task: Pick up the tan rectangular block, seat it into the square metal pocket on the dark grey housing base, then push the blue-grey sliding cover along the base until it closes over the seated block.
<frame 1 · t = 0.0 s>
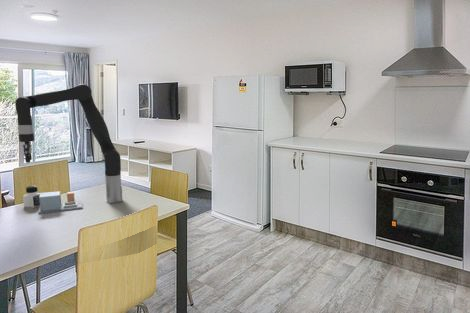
hand: (28, 161, 202), 29 cm above the table, fingers open, 8 cm apart
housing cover: (50, 200, 209), point 5 cm above the table, slide at 0.0 cm
medicine bottle: (33, 205, 217), on the table
housing base: (62, 208, 212), on the table
tan rectangular block: (71, 201, 225), on the table
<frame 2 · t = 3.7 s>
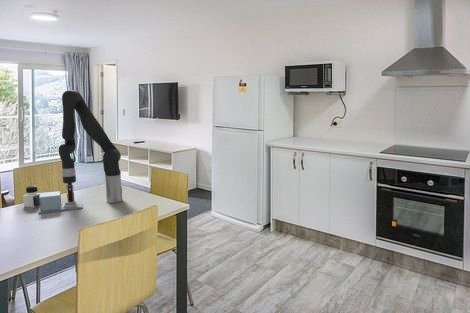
hand: (71, 201, 225), 0 cm above the table, fingers closed on tan rectangular block, 4 cm apart
tan rectangular block: (71, 201, 225), on the table, touching gripper
everything else where it was.
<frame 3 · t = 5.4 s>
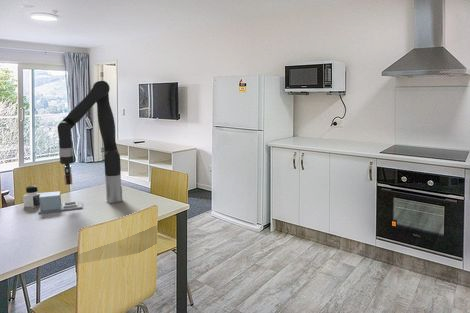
hand: (68, 183, 214), 14 cm above the table, fingers closed on tan rectangular block, 4 cm apart
tan rectangular block: (68, 183, 214), point 14 cm above the table, touching gripper
everything else where it was.
when the fingers open (3 cm above the table, at t = 7.3 s): tan rectangular block drops 1 cm, resting on housing base.
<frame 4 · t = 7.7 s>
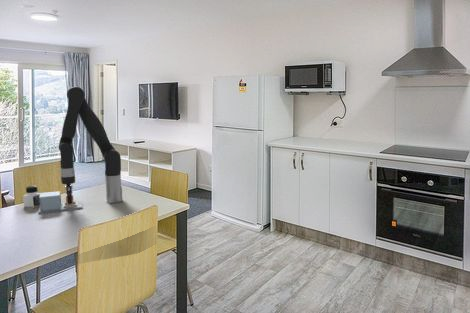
hand: (70, 201, 213), 3 cm above the table, fingers open, 8 cm apart
tan rectangular block: (70, 205, 213), point 1 cm above the table, touching housing base
everything else where it was.
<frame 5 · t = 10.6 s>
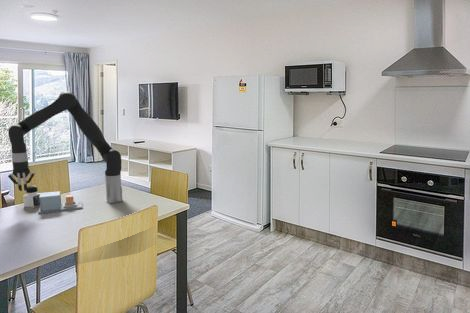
hand: (23, 190, 202), 13 cm above the table, fingers closed
nothing on the table moved.
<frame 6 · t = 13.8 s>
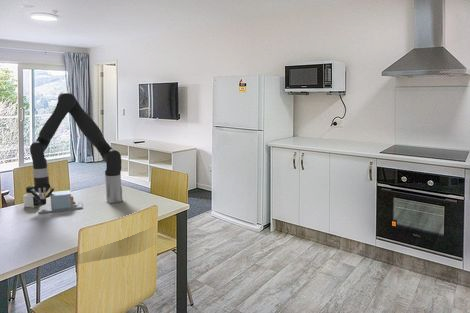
hand: (43, 204, 207), 3 cm above the table, fingers closed
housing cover: (61, 199, 211), point 5 cm above the table, slide at 5.7 cm, touching hand
everything else where it was.
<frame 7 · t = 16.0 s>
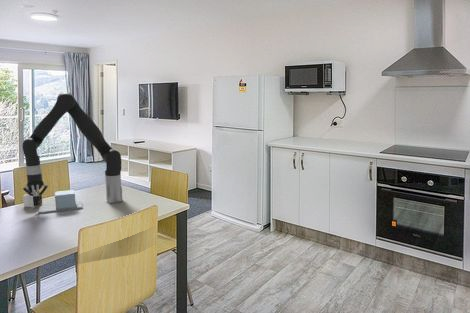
hand: (37, 202, 206), 5 cm above the table, fingers closed
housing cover: (65, 199, 212), point 5 cm above the table, slide at 7.9 cm
everything else where it was.
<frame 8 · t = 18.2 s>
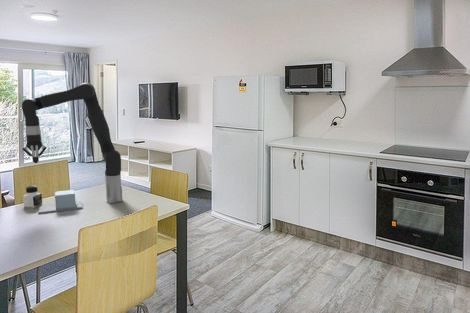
hand: (36, 162, 209), 27 cm above the table, fingers closed
nothing on the table moved.
at the end: tan rectangular block 0.1 cm from the target spot on the housing base, point 1.0 cm above the housing base's base; tan rectangular block tilted 0°; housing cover slide at 7.9 cm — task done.
